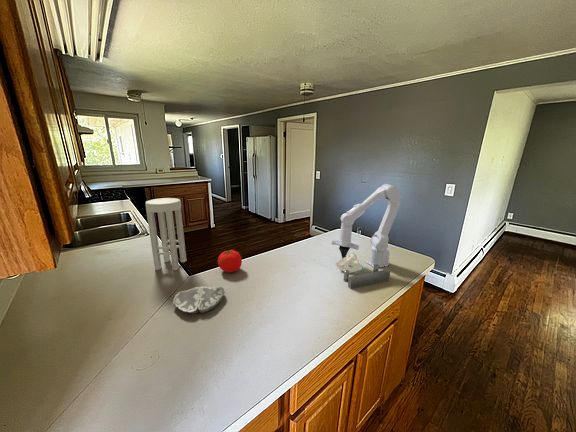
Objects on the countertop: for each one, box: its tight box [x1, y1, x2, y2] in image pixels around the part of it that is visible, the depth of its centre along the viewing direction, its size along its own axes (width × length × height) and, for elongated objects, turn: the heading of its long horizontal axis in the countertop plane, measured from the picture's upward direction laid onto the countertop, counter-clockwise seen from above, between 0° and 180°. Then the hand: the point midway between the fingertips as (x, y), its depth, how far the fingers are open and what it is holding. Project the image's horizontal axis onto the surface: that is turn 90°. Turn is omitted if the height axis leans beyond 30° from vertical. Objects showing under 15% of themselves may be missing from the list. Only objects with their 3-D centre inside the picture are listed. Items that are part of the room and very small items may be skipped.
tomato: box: [217, 248, 243, 273], centre depth 121 cm, size 12×12×11 cm
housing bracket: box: [343, 264, 391, 290], centre depth 115 cm, size 22×8×5 cm, turn 110°
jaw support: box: [334, 252, 364, 274], centre depth 124 cm, size 12×9×10 cm
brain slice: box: [172, 286, 226, 314], centre depth 96 cm, size 20×17×3 cm
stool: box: [145, 197, 187, 271], centre depth 123 cm, size 16×16×35 cm
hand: (343, 258), depth 131 cm, fingers closed
